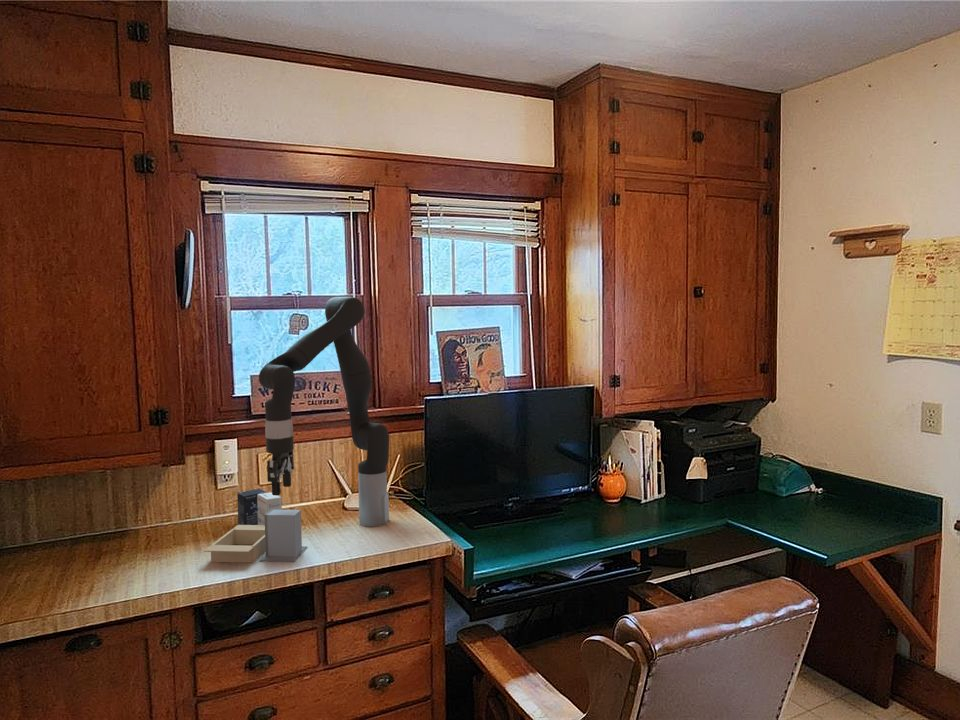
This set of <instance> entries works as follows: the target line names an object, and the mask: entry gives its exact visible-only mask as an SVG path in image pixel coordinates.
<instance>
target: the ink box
mask: <svg viewBox="0 0 960 720" xmlns="http://www.w3.org/2000/svg"><path fill="white" fill-rule="evenodd" d="M282 498H283V497H281V496H280V495H272V491H271V492H267V493H262V494H258V495H257V503H258V524H257V525H265V518H264V515H265V514H266V513H267V512H269V511H270V510H283V508H282Z"/></svg>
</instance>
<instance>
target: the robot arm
mask: <svg viewBox="0 0 960 720" xmlns="http://www.w3.org/2000/svg"><path fill="white" fill-rule="evenodd" d="M324 307H325V308H324V314H325V320H326V322H325V323H323V324H322V325H320V326H319V327H316V328H314V329H313V330H311V331H309V332H308V333H306V334H304V335H303V336H302V337H300V338H299V339H297V341H295V342H294V343H293V344H292V345H291V346H290V347H289V348H288V349H287V350H286V351H284V352H283V353H282V354H280V355H277V357H274V358H273V359H272V360H270V361H268V362H267V363H266V364H265V365H264V366H263V367H262V368H261V370H260V371H259V374H258V382H259V384H260V386H262V387H263V388H265V389H267V390H272V397H271V398H269V399H267V400H266V402H265V404H264V407H265V408H264V409H265V410H264V411H265V426H264V427H265V428H264V430H265V431H264V432H265V448H266V453H268V454H271V455H272V456H271V460H270V459H269V460H267V461H266V465H267V466H266V472H267V477H266V478H267V482H268V483H271V492H272V495H278V496H280V495H281V491H282V489H281V478H282V485H283V487H284V488H290V487H291V486H292V472H293V471H294V470H295V462H294V447H295V446H294V445H295V444H294V426H293V419H292V401H293V397H294V393H295V392H294V391H295V387H296V376H295V372H299V371H302V370H304V369H305V368H306V367H307V366H308V365H309V364H311V362H313V360H314V359H315V358H316V357H317V356H319V354H320V353H321V352H323V351H324V350H325V349H327V347H328V346H330V345H331V344H332V343H333V344H334V345H333V346H334V348H335V349H334V350H335V352H336V357H337V361H338V366H339V370H340V371H339V372H340V376H341V381H342V384H343V389H344V393H345V398H346V402H347V408H348V414H349V423H350V432H351V438H352V442H353V444H354V446H355V448H357V449H359V450H362V451H366V459H365V460H361V461H360V462H359V463H358V465H357V474H358V475H357V476H358V477H357V479H358V486H357V487H358V519H359V521H358V522H359V525H360V526H363V527H370V528H372V527H380V526H386V525H387V523H388V522H389V520H390V509H389V508H390V505H389V503H390V502H389V497H390V496H389V495H390V494H389V491H388V487H387V486H388V485H387V484H388V481H387V480H388V479H387V477H388V476H387V466H388V463H389V458H390V434H389V430H388V427H387V426H386V425H384V424H381V423H376V422H371V419H370V415H369V411H368V410H369V409H368V403H369V399H370V396H371V392H372V388H373V378H372V373H371V368H370V364H369V362H368V360H367V357H366V356H365V355H364V354H365V353H363V351H362V350H361V349H360V348H359V345H358V344H357V343H356V341H355V339H354V337H353V334H352V329H353V328H355V327H356V326H357V325H359V324H360V323H361V322H362V321H363V319H364V316H365V307H364V303H363V302H362V301H361V300H360V299H359V298H357V297H354V296H335V297H334V296H333V297H331V298H330V299H328V300H327V301H326V303H325V306H324Z"/></svg>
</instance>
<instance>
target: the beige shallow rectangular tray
mask: <svg viewBox="0 0 960 720" xmlns="http://www.w3.org/2000/svg"><path fill="white" fill-rule="evenodd" d="M203 552H205V553H210V561H211V562H213V563H214V562H216V563H255V562H256V561H258V560H259V558H261V557H260V556H261V555H262V554H263V553H264V552H265V553H266V546H265V525H258V524H256V525H240V524H236V525H235V526H234V527H233V528H232V529H230V530H229V531H228V532H226V533H225V534H224V535H222V536H221V537H220V538H218V540H216V541H214V542H213V543H211V544H210V545H209V546H208V547H207V548H204V550H203ZM265 553H264V554H265ZM264 554H263V555H264ZM263 555H262V556H263Z"/></svg>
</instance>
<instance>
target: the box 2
mask: <svg viewBox="0 0 960 720" xmlns="http://www.w3.org/2000/svg"><path fill="white" fill-rule="evenodd" d="M264 518H265V546H266V552H265V554H266V556H289V557H296V556H297V555H298V554H299V553H300V552H301V551H302V546H303V539H302V538H303V537H302V511H301V509H282V510H270V511H269V512H267V513H266V514H265V515H264Z"/></svg>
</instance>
